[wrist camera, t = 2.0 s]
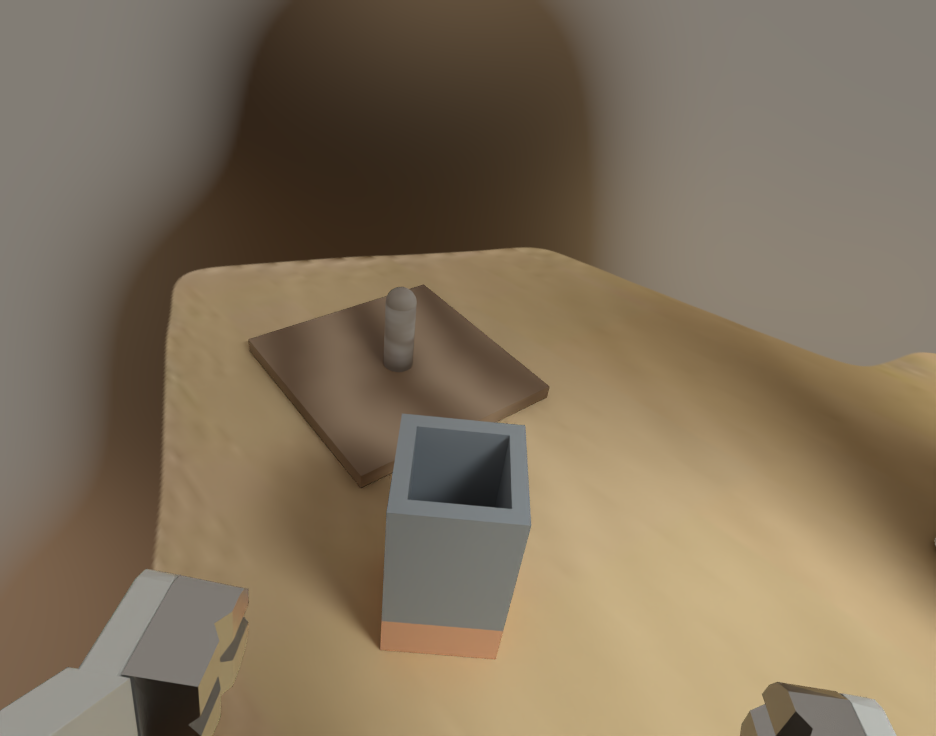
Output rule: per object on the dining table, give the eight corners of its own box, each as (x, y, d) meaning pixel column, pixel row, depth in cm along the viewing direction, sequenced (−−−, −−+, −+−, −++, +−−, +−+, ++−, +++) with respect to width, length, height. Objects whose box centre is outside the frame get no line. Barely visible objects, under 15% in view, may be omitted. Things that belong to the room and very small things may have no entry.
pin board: (422, 294, 54) (428, 217, 50) (546, 397, 46) (566, 314, 41) (249, 350, 46) (238, 264, 42) (360, 487, 38) (361, 397, 33)
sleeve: (495, 560, 35) (525, 425, 29) (495, 659, 31) (530, 525, 24) (393, 551, 35) (402, 413, 28) (380, 649, 30) (386, 512, 24)
